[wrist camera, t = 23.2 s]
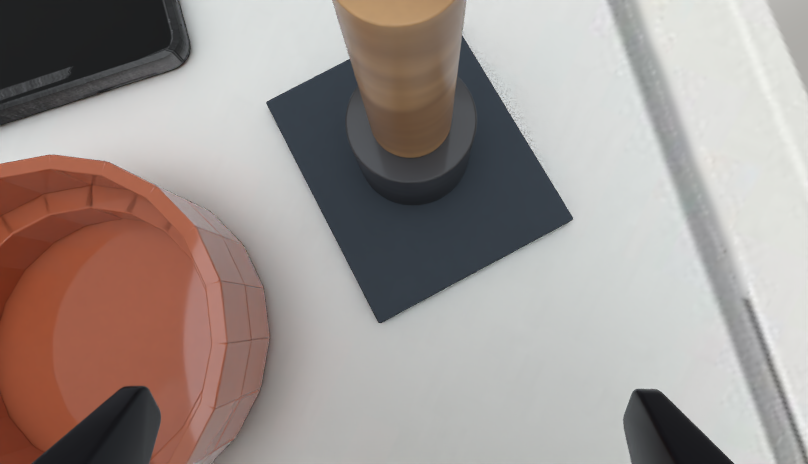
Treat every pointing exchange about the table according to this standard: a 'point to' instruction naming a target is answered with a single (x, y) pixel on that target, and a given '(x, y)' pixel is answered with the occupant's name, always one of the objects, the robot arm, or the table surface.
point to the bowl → (121, 309)
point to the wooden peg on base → (408, 96)
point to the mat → (429, 223)
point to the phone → (82, 49)
